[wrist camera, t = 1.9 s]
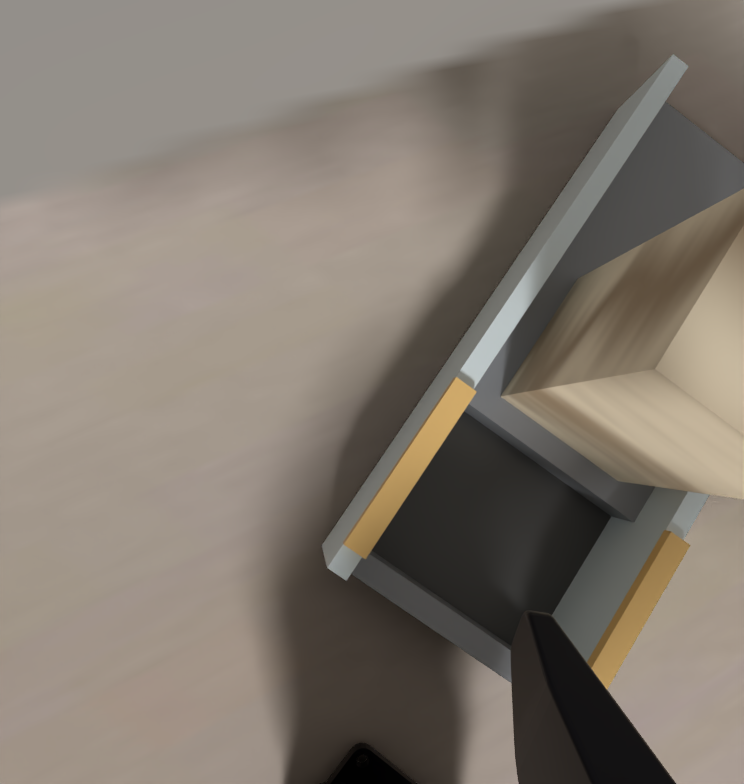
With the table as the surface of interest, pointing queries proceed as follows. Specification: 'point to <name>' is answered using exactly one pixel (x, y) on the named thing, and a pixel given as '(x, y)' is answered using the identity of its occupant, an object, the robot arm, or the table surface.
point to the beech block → (651, 360)
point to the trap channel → (538, 432)
